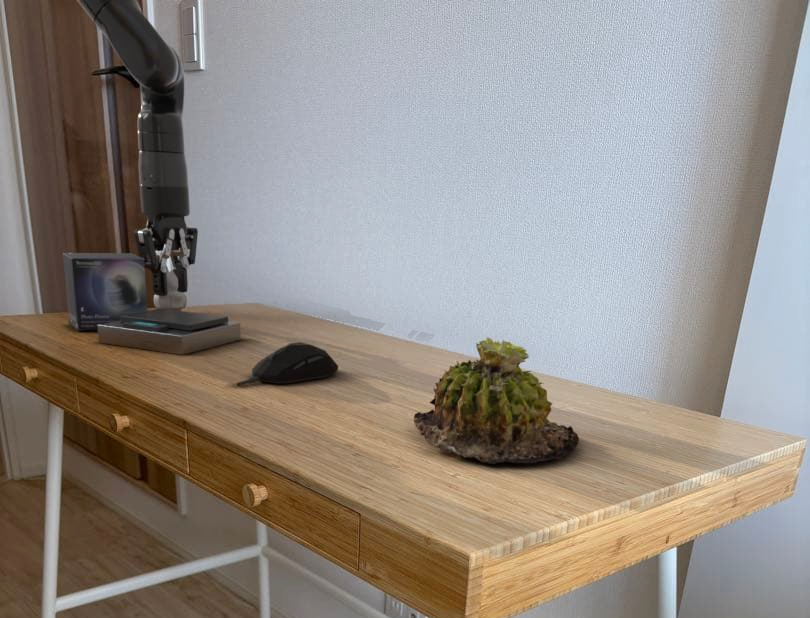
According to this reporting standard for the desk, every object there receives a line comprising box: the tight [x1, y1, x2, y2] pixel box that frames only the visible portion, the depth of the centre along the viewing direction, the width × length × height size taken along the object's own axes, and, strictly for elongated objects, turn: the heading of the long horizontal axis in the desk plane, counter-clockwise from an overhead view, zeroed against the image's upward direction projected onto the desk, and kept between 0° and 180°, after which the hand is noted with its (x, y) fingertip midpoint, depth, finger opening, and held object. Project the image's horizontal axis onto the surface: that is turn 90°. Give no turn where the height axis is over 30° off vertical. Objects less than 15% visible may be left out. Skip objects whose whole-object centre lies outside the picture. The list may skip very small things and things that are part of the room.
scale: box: [97, 320, 242, 356], centre depth 118 cm, size 14×14×3 cm
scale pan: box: [120, 308, 229, 331], centre depth 118 cm, size 12×9×1 cm
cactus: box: [413, 336, 580, 465], centre depth 79 cm, size 17×16×10 cm
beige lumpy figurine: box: [153, 264, 188, 311], centre depth 139 cm, size 5×7×8 cm
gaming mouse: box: [236, 341, 339, 387], centre depth 100 cm, size 6×15×4 cm, turn 138°
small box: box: [62, 252, 148, 332], centre depth 124 cm, size 11×6×10 cm, turn 122°
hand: (171, 293), depth 140 cm, fingers closed on beige lumpy figurine, 4 cm apart
